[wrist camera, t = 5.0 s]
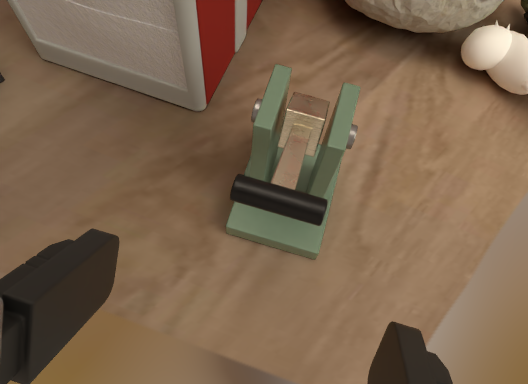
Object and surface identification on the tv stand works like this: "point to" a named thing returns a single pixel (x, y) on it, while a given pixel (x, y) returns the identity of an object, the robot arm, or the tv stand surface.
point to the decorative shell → (426, 13)
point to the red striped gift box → (142, 41)
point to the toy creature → (499, 56)
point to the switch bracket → (311, 175)
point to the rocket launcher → (525, 8)
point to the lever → (289, 165)
